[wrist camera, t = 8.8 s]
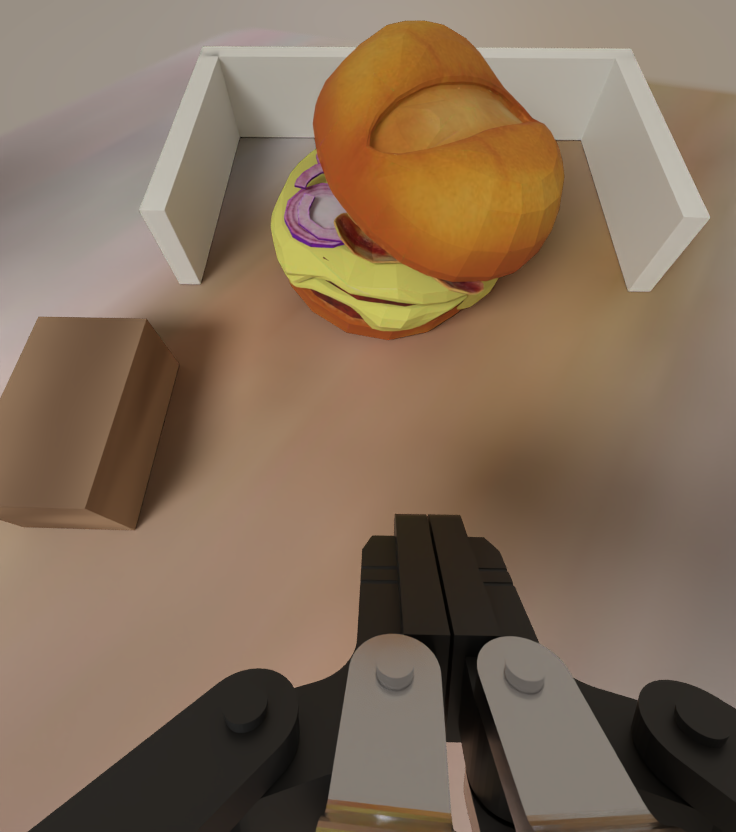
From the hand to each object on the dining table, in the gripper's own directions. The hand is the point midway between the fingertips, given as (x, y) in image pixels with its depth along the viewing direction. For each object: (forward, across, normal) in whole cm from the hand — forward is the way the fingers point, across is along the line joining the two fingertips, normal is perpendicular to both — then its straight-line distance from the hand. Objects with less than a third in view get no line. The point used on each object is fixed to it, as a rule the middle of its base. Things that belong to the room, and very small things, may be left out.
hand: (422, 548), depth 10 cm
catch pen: (+17, 0, -10) cm, 19 cm away
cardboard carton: (+7, +12, 0) cm, 13 cm away
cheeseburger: (+14, 0, -6) cm, 15 cm away
